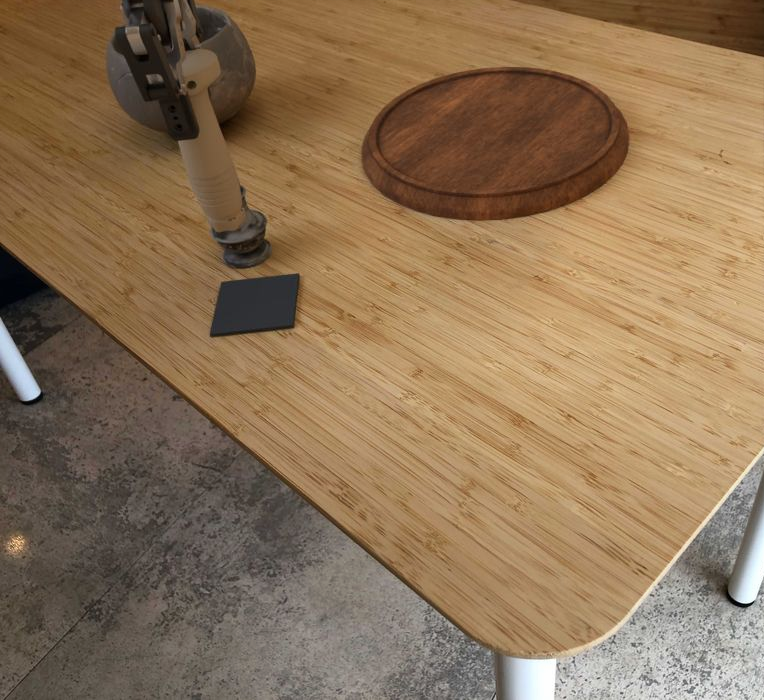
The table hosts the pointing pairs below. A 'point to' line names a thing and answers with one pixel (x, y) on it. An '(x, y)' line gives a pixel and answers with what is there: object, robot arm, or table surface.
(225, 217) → the handle
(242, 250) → the grey stone chess piece
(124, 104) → the bowl
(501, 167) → the cutting board
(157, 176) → the table surface
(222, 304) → the place mat
